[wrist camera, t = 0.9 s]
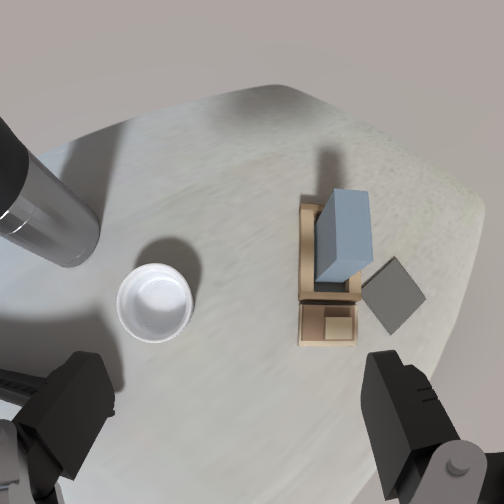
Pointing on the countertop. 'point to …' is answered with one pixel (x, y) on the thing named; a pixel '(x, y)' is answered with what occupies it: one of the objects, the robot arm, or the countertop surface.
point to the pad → (392, 296)
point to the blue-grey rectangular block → (342, 236)
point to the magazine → (21, 387)
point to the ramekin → (154, 303)
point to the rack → (323, 295)
